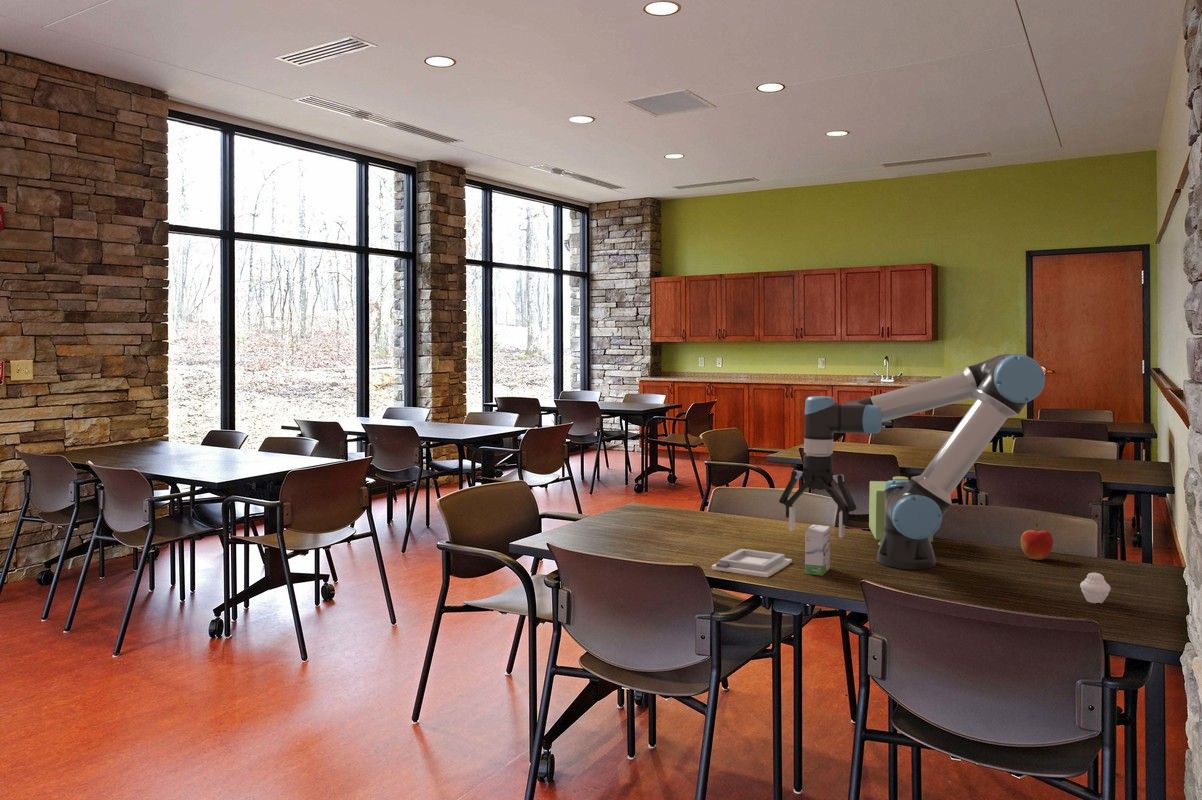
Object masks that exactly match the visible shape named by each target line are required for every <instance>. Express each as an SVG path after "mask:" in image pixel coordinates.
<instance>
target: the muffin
mask: <svg viewBox="0 0 1202 800" xmlns="http://www.w3.org/2000/svg"><path fill="white" fill-rule="evenodd" d="M1079 587H1080V589H1081V593H1082V595H1083V596H1084V598H1085V600H1086V602H1088V603H1091V604H1096V603H1100V604H1103V603H1104V602H1105V600H1106V598H1107V597H1108V595H1109V594H1110V591H1111V589H1112V587H1111V585H1110V584H1109V583H1107V581H1106V580H1105V576H1104V575H1102V574H1101V573H1099V572H1089V573H1088V574H1087V575H1086V578H1084V580H1083V581H1081V582H1080V585H1079Z"/></svg>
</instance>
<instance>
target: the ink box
mask: <svg viewBox="0 0 1202 800" xmlns="http://www.w3.org/2000/svg"><path fill="white" fill-rule="evenodd" d="M804 532H805V533H804V537H805V539H804V546H805V547H804V549H805V551H804V558H805V559H804V573H805V574H806V575H813V576H814V575H815V576H822V577H823V576H824V575H825V574H826V573H827V572H828V571H829V570H830V567H831V565H830V564H831V561H830V560H831V559H830V557H831V554H830V552H831V551H830V550H831V549H830V548H831V544H830V543H831V526H828V525H822V524H821V525H820V524H811V525H810V526H808V527H807V528H806V529H805V531H804Z"/></svg>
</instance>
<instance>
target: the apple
mask: <svg viewBox="0 0 1202 800" xmlns="http://www.w3.org/2000/svg"><path fill="white" fill-rule="evenodd" d="M1035 525H1036V526H1038V523H1035ZM1053 539H1054V538H1053V536H1052V534H1051V532H1050V531H1049V530H1045V529H1044V530H1041V531H1040V530H1039V531H1038V530H1035V529H1027V530H1026V531H1024V532H1023V533H1022V535H1021V537H1020V545H1021V546H1020V547H1021V549H1022V552H1023V553H1024V555H1025V556H1026V557H1027V558H1028V559H1030V560H1033V559H1034V561H1041V560H1044V559H1046V558H1047V557H1048V556H1049V555H1050V553H1051V552H1052V549H1053V546H1054V540H1053Z"/></svg>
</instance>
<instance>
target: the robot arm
mask: <svg viewBox="0 0 1202 800" xmlns="http://www.w3.org/2000/svg"><path fill="white" fill-rule="evenodd" d="M1044 371H1045V370H1044V369H1043V367H1042V366H1041V364H1039V362H1038V361H1037V360H1035V358H1032V357H1030V356H1028V355H1025V354H1022V353H1013V354H1007V353H1005V354H1000V355H997V356H993V357H991V358H989V359H987V360H984V361H981V362H978V363H975V364H973V365H969V366H966V367H965V368H964V369H963V371H962V372H958V373H953V374H950V375H946V376H943V377H939V378H936V379H932V380H927V381H924V382H920V383H916V384H912V385H909V386H905V387H902V388H898V389H895V390H890V391H887V392H883V393H881V394H880V393H879V394H876V395H872V396H870V397H865V398H862V399H858V400H850V401H848V402H847V401H846V403H845V404H838V403H836V402H835V398H834V397H833V396H823V395H817V396H815V395H813V396H808V397H807V398H806V399H805V404H804V405H805V406H804V425H803V427H804V430H803V431H804V434H803V435H804V436H803V441H804V442H803V453H804V455H803V469H802V471H800V470H798V469H794V470H792V471H791V474H790V480H789V481H788V483H787V485H786V487H785V489H784V491H783V493H782V494H781V496H780V498H779V500H778V501H779V502H778V503H779V504H782V505H783V506H785V517H786V519H788V532H793V531H794V530H795V529H796V505H794V503H795V502H796V501H797V500H798V499H799V498H800V497H801V496H802V495H803V494H804V493H805V492H806V491H807V489H810V490H818V491H824V490H825V491H826V493H827V494H829V495H830V497H831V499H832V500H833V501H834V503H835V504H836V505H837V506H838V508H839V509H840V512H839V513H838V538H839V539H840V538H844V537H845V531H846V529H845V528H846V526H848V524H849V522H850V521H849V519H850V516H849V515H850V512H854V511H855V510H857V505H856V503H855V501H854V499H853V497H852V495H851V492H850V490H849V488H848V486H847V482H846V478H845V474H843V473H841V474H834V473H833V467H834V464H833V463H834V457H833V455H832V454H833V452H834V433H838V434H839V433H841V434H848V433H849V434H865V435H870V434H871V435H872V434H873V435H874V434H879V433H880V432H881V429H882V424H883V422H887V421H892V420H894V419H898V418H902V417H907V416H910V415H914V414H919V413H921V412H926V411H929V410H934V409H938V408H940V407H944V406H948V405H949V406H950V405H952V404H956V403H961V402H965V401H968V400H973V401H974V402H973V404H972V405H971V406H970V407H969V409H968V410H967V412H966V413H965V415H964V416H963V417H962V419H961V420H960V422H959V423H958V424H957V425H956V427H955V428H954V430H953V431H952V432H951V434H950V435H949V436H948V438H947V439H946V441H945V442H944V443H943V444H942V446H941V447H940V448H939V450H938V451H937V453H936V454H935V456H933V458H932V460H930V462H929V464H928V465H927V466H926V468H925V469H924V470H923V472H922V473H921V474H919V475H916V476H915V475H914V476H911V477H910V479H908V481H901V480H893V479H892V480H887V482H886V484H885V490H884V493H885V522H884V536H883V539H882V542H881V545H879V548H878V551H877V556H876V557H877V559H876V560H877V562H878V563H879V564H881V565H883V566H886V567H890V568H893V569H894V568H896V569H902V570H903V569H904V570H924V569H925V570H927V569H932V568H934V567H935V566H936V555H935V552H934V549H933V545H932V542H930V539H929V537H930V536H932V535H933V536H934V535H935V533H937V532H938V530H939V529H940V527H941V525H942V523H943V522H942V521H943V516H944V515H945V513H946V512H947V511H948V509H949V508H950V507H951V505H952V504H953V503H952V499H951V496H952V493H953V492H954V491H955V490H956V487H958V485H959V484H960V483H961V481H962V480H963V479H964V477H965V476H966V474H968V472H969V471H970V470H971V468H972V466H973V465H974V464H975V462H976V461H977V460H978V459H979V457H980V456H981V454H983V452H984V451H985V449H986V448H987V446H988V445H989V443H990V442H991V441H992V439H994V437H995V436H996V434H997V433H998V432H999V430H1000V429H1001V428H1002V426H1003V425H1004V424H1005V422H1006V421H1007V419H1009V418H1012V417H1018V416H1019V414H1020V413H1021V412H1022V410H1023V409H1024V408H1025V406H1026V405H1027V403H1029V402H1031V401H1033V400H1034V399H1035V398H1037V397H1039V395H1040V394H1041V393H1042V391H1043V389H1044V387H1045V383H1046V375H1045V372H1044ZM801 478H802V480H803V481H804V482H803V483H802V484H801V485H800V487H799V488H798V489H797V490H796V491H795V492H794V494H792V495H791V493H792V492H793V489H794V488H795V486H796V485H797V482H798V480H800V479H801ZM833 481H834V482H836V483H837V485H838V487H839V491H840V492H841V495H842V497H843V498H842V497H841V496H840V494H839V493H838V492H837V490H836V488H835V486H834V485H833V484H832V482H833ZM790 496H791V497H790ZM789 497H790V498H789ZM843 499H844V500H843Z"/></svg>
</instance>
